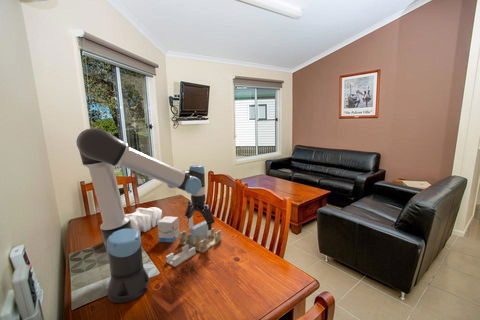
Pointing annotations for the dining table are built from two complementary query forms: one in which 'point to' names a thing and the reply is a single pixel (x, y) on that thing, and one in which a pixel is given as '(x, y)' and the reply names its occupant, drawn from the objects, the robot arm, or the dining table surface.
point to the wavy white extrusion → (145, 218)
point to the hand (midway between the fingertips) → (199, 231)
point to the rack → (200, 245)
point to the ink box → (168, 229)
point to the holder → (180, 256)
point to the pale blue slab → (199, 231)
